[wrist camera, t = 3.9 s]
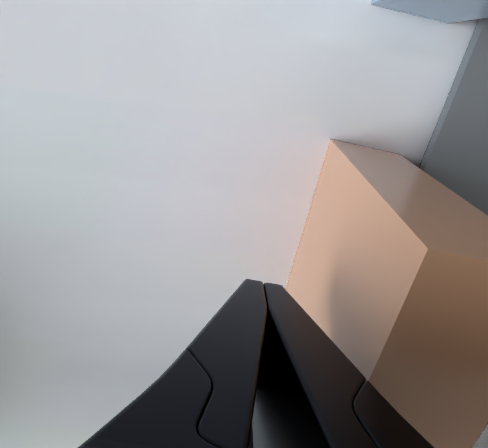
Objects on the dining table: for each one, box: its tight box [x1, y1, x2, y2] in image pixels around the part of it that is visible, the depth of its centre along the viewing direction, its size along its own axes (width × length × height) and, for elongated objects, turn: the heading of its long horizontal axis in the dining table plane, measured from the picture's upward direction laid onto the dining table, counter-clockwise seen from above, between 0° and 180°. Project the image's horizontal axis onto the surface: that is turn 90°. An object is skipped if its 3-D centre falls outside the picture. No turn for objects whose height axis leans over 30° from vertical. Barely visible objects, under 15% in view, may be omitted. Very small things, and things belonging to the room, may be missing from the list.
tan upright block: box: [285, 139, 488, 448], centre depth 11 cm, size 6×3×8 cm, turn 168°
